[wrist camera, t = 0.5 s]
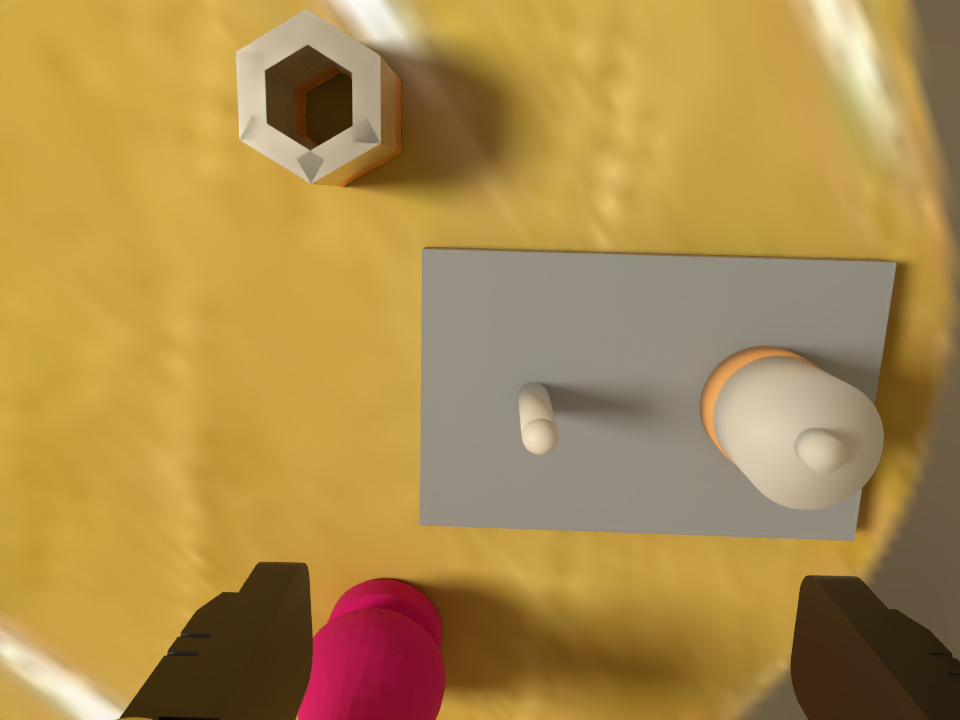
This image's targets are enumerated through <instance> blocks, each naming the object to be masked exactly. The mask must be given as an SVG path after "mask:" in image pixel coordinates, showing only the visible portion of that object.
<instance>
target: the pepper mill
mask: <svg viewBox="0 0 960 720" xmlns="http://www.w3.org/2000/svg"><path fill="white" fill-rule="evenodd" d="M441 639H442V626H441V621H440V617H439V615H438V612H437V610H436V608H435V607H434V605H433V604H432V602H431V601H430V600H429V599H428V598H427V597H426V596H425V595H424V594H423V593H422V592H420V591H419V590H417V589H416V588H414V587H412V586H411V585H409V584H406V583H403V582H400V581H396V580H391V579H376V580H370V581H366V582H363V583H361V584H358V585H356V586H354V587H352V588H351V589H350V590H348V591H347V592H346V593H345V594H344V595H343V596H341V597H340V599H339V600H338V602H337V603H336V605H335V607H334V608H333V610H332V613H331V615H330V618H329V620H328V623H327V624H326V625H325V626H323V627H322V628H321V629H320V630H319V631H318V632H317V633H316V635H315V636H314V637H313V660H312V669H311V675H310V680H309V684H308V687H307V690H306V693H305V695H304V698H303V701H302V703H301V706H300V708H299V711H298V719H299V720H436V718H437V715H438V713H439V710H440V707H441V703H442V699H443V695H444V689H445V667H444V663H443V659H442V655H441V653H440V646H441Z"/></svg>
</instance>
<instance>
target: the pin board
mask: <svg viewBox="0 0 960 720" xmlns="http://www.w3.org/2000/svg"><path fill="white" fill-rule="evenodd" d="M896 264H897V262H891V261H885V260H871V259H835V258H800V257H764V256H728V255H693V254H657V253H621V252H586V251H550V250H514V249H479V248H443V247H425V248H423V249H422V339H421V460H420V525H427V526H455V527H483V528H511V529H538V530H566V531H594V532H622V533H650V534H677V535H705V536H733V537H761V538H789V539H817V540H844V541H854V539H855V532H856V526H857V519H858V513H859V506H860V499H861V493H862V487H863V486H864V485H865V484H866V483H867V482H868V480H869V479H870V478H871V476H872V475H873V473H874V472H875V470H876V468H877V466H878V464H879V461H880V459H881V456H882V451H883V446H884V430H883V425H882V421H881V418H880V415H879V413H878V411H877V409H876V407H875V401H876V395H877V388H878V382H879V375H880V369H881V362H882V356H883V349H884V342H885V336H886V329H887V323H888V316H889V310H890V303H891V297H892V290H893V284H894V277H895V270H896Z"/></svg>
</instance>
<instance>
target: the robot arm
mask: <svg viewBox="0 0 960 720" xmlns="http://www.w3.org/2000/svg"><path fill="white" fill-rule="evenodd" d="M312 660H313V636H312V617H311V599H310V580H309V571H308V567H307V565H306V563H294V562H259V563H258V564H257V565H256V566H255V568H254V569H253V571H252V572H251V574H250V575H249V577H248V579H247V580H246V582H245V583H244V585H243V586H242V588H241V589H240V591H239V592H238V593H236V592H222V593H221V594H220V595H218V596H217V597H215V598H214V599H212V600H211V601H210V602H208V603H207V604H205V605H204V606H203V607H201V608H200V609H198V610H197V611H196V612H195V614H194V615H193V616H192V618H191V619H190V621H189V622H188V623H187V625H186V626H185V628H184V629H183V630H182V632H181V636H180V637H177V639H176V640H175V641H174V643H173V644H172V646H171V647H170V648H169V650H168V654H167V656H164V657H163V658H162V660H161V661H160V662H159V664H158V665H157V667H156V668H155V669H154V671H153V672H152V674H151V675H150V676H149V678H148V679H147V681H146V682H145V683H144V685H143V686H142V688H141V689H140V690H139V692H138V693H137V695H136V696H135V697H134V699H133V700H132V702H131V703H130V704H129V706H128V707H127V708H126V710H125V711H124V713H123V714H122V715H121V717H120V718H119V719H117V720H295V719H296V716H297V714H298V711H299V708H300V706H301V703H302V701H303V698H304V695H305V693H306V690H307V687H308V684H309V680H310V675H311V669H312ZM791 678H792V683H793V688H794V692H795V695H796V697H797V700H798V702H799V704H800V706H801V708H802V710H803V711H804V713H805V715H806V716H807V718H808V720H960V661H959V660H958V659H955V658H953V657H952V653H951V652H950V651H949V650H948V649H947V648H946V647H945V646H944V645H943V644H942V643H941V642H940V641H939V640H938V639H937V638H936V637H935V635H934V634H933V633H932V632H931V631H930V630H928V629H927V628H925V627H924V626H922V625H920V624H919V623H917V622H915V621H914V620H912V619H911V618H909V617H907V616H906V615H904V614H903V613H901V612H899V611H898V610H896V609H888V608H887V607H886V606H885V605H884V604H883V603H882V602H881V601H880V600H879V598H878V597H877V596H876V595H875V594H874V593H873V592H872V591H871V590H870V589H869V587H868V586H867V585H866V584H865V583H864V582H863V581H862V580H861V579H860V578H858V577H855V576H817V575H809V576H806V577H805V578H804V579H803V581H802V583H801V587H800V592H799V600H798V608H797V615H796V623H795V631H794V639H793V646H792V654H791Z"/></svg>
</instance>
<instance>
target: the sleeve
mask: <svg viewBox="0 0 960 720" xmlns="http://www.w3.org/2000/svg"><path fill="white" fill-rule="evenodd" d="M236 69H237V91H238V113H239V135H240V140H241V141H242V142H244V143H246V144H247V145H249V146H251V147H252V148H254V149H255V150H257V151H259V152H260V153H262V154H264V155H265V156H267V157H269V158H270V159H272V160H273V161H275V162H277V163H278V164H280V165H282V166H283V167H285V168H286V169H288V170H290V171H291V172H293V173H295V174H296V175H298V176H299V177H301V178H303V179H304V180H306V181H308V182H309V183H311V184H319V185H330V186H341V187H344V186H345V185H347V184H349V183H351V182H352V181H354V180H356V179H357V178H359V177H361V176H363V175H364V174H366V173H368V172H370V171H371V170H373V169H375V168H377V167H378V166H380V165H382V164H384V163H385V162H387V161H389V160H391V159H392V158H394V157H396V156H397V155H399V154H401V80H400V79H399V78H398V77H397V75H396V74H395V73H394V72H393V70H392V69H391V68H390V67H389V66H388V64H387V63H386V62H385V61H384V59H383V58H382V57H381V56H380V55H379V54H377V53H375V52H374V51H372V50H371V49H369V48H368V47H366V46H365V45H363V44H361V43H360V42H358V41H357V40H355V39H354V38H352V37H350V36H349V35H347V34H346V33H344V32H343V31H341V30H340V29H338V28H336V27H335V26H333V25H332V24H330V23H329V22H327V21H325V20H324V19H322V18H321V17H319V16H318V15H316V14H315V13H313V12H311V11H310V10H308V9H305V10H304V11H302V12H300V13H299V14H297V15H295V16H294V17H292V18H291V19H289V20H287V21H286V22H284V23H283V24H281V25H279V26H278V27H276V28H274V29H273V30H271V31H270V32H268V33H266V34H265V35H263V36H261V37H260V38H258V39H257V40H255V41H253V42H252V43H250V44H248V45H247V46H245V47H244V48H242V49H240V50H239V51H237V52H236ZM341 72H342V73H344V74H345V75H347V76H349V77H350V78H352V105H353V126H352V127H350V128H348V129H346V130H345V131H343V132H341V133H340V134H338V135H336V136H335V137H333V138H331V139H329V140H328V141H326V142H324V143H323V144H321V145H319V144H317V143H316V142H314V141H312V140H311V139H309V138H308V137H307V122H306V93H307V92H309V91H311V90H312V89H314V88H316V87H317V86H319V85H321V84H322V83H324V82H326V81H327V80H329V79H331V78H332V77H334V76H336V75H337V74H339V73H341Z"/></svg>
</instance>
